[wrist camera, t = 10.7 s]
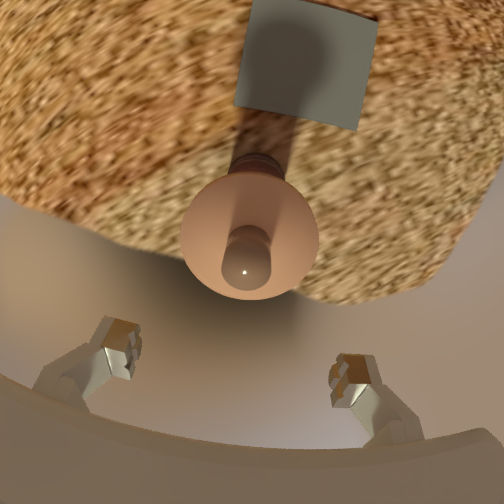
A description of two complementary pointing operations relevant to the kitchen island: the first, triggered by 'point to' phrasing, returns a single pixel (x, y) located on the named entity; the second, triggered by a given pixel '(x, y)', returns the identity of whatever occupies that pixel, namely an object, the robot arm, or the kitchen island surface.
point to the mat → (306, 61)
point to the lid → (249, 236)
